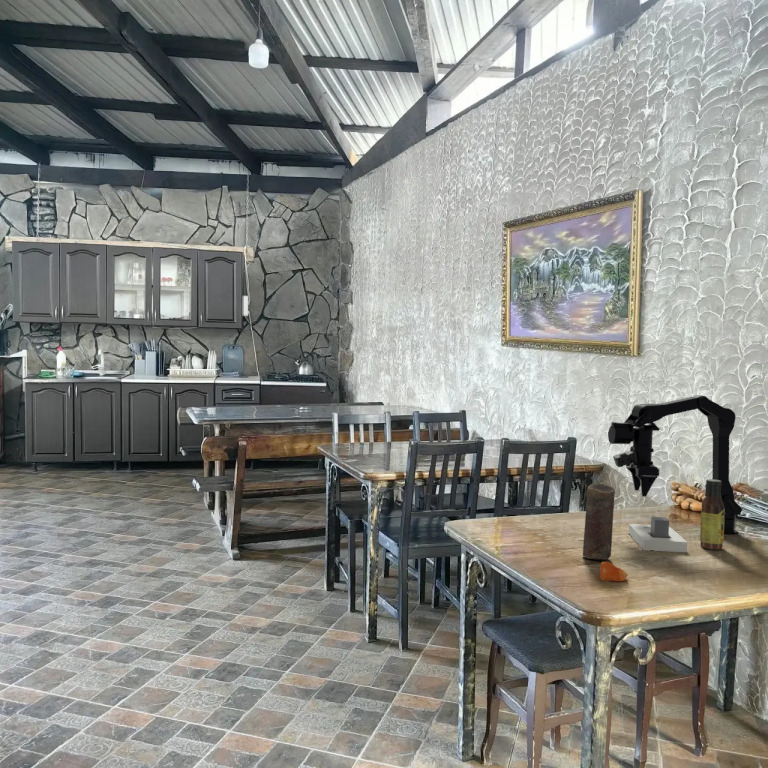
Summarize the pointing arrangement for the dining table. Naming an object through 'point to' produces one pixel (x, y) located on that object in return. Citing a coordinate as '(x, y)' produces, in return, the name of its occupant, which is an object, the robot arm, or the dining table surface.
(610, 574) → the rock
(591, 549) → the candle
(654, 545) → the socket plate
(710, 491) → the sauce bottle
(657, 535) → the plug
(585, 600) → the dining table surface
